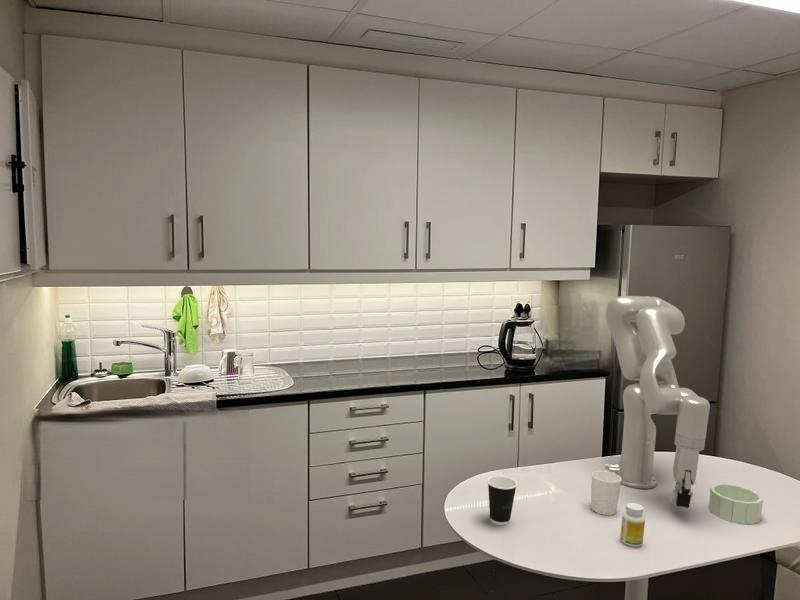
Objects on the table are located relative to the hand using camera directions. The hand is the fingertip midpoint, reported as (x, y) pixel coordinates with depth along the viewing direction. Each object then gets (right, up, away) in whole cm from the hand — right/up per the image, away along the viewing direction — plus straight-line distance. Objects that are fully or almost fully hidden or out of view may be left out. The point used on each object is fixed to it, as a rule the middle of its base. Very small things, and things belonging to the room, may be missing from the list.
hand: (681, 501), depth 168 cm
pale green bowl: (+16, -4, +2) cm, 17 cm away
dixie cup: (-53, -3, -8) cm, 53 cm away
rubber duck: (0, -1, 0) cm, 1 cm away
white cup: (-22, -3, +1) cm, 22 cm away
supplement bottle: (-21, -5, -17) cm, 27 cm away
